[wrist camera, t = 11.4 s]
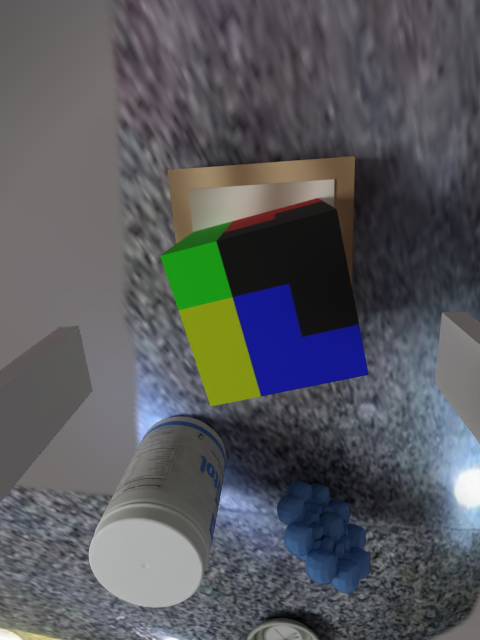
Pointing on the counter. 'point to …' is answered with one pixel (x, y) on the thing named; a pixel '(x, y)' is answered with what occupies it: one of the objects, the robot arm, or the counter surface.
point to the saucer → (282, 630)
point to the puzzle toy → (268, 302)
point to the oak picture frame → (261, 193)
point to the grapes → (323, 536)
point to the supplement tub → (162, 516)
